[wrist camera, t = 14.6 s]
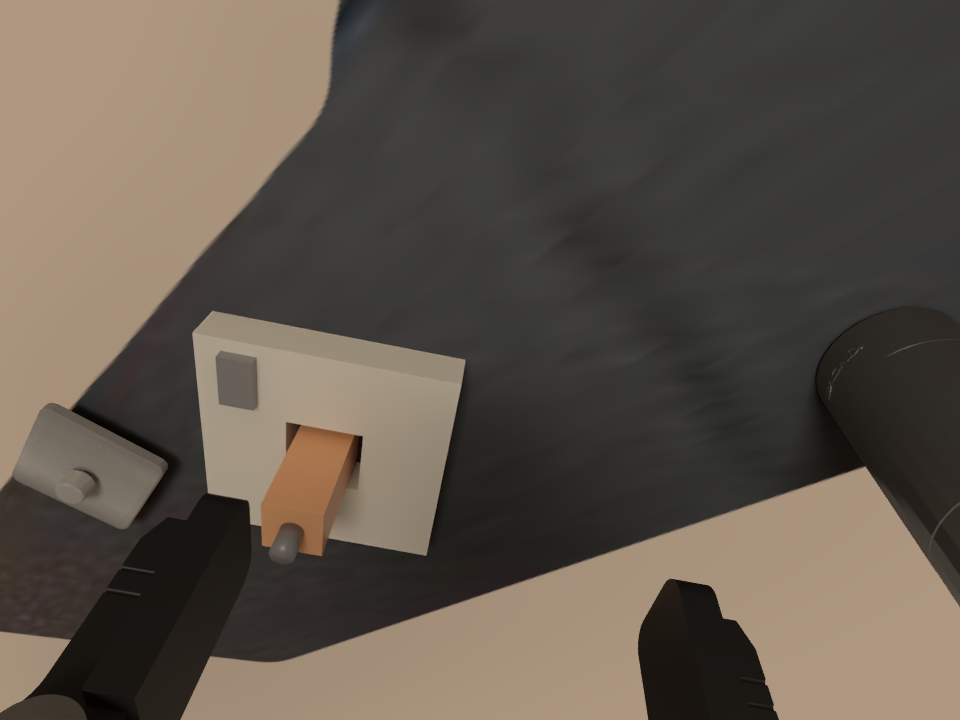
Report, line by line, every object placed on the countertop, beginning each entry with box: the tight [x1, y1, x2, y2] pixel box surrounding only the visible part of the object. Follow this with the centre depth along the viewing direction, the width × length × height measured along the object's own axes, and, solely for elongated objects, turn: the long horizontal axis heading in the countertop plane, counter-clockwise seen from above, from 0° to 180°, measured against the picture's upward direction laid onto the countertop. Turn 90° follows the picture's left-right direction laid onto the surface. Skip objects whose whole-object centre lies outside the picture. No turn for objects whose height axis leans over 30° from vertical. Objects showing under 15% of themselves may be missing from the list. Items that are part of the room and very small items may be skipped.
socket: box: [192, 311, 466, 556], centre depth 46 cm, size 18×18×4 cm
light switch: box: [13, 403, 168, 529], centre depth 48 cm, size 10×10×5 cm
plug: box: [261, 425, 360, 565], centre depth 42 cm, size 4×4×12 cm
